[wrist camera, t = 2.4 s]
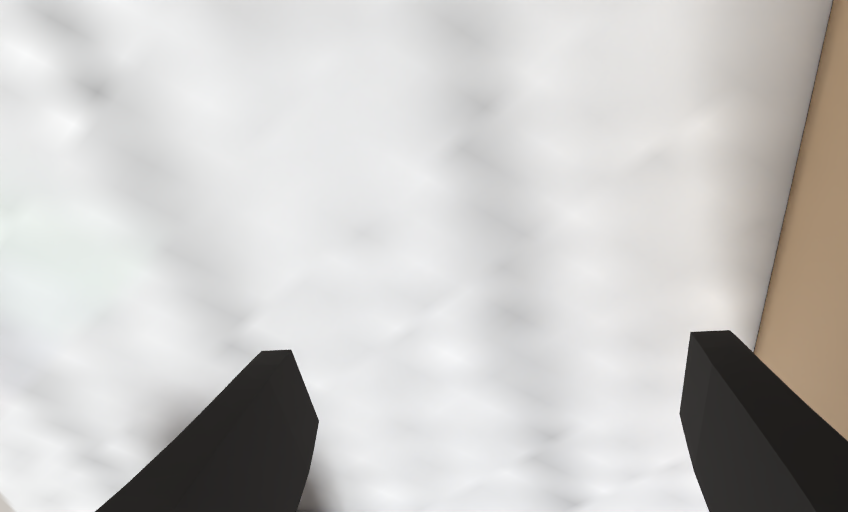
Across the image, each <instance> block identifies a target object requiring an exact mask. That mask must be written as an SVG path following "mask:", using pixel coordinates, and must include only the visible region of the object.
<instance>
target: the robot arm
mask: <svg viewBox="0 0 848 512" xmlns="http://www.w3.org/2000/svg"><path fill="white" fill-rule="evenodd" d="M680 418H681V422H682V426H683V430H684V434H685V438H686V442H687V446H688V450H689V454H690V458H691V461H692V465H693V469H694V472H695V475H696V478H697V480H698V483H699V486H700V488H701V491H702V494H703V496H704V499H705V501H706V504H707V507H708V509H709V512H848V441H847V440H846V439H845V438H844V437H843V436H842V435H841V434H839V433H838V432H837V431H836V430H835V429H834V428H833V427H832V426H831V425H829V424H828V423H827V422H826V421H825V420H824V419H823V418H822V417H820V416H819V415H818V414H817V413H816V412H815V411H814V410H813V409H812V408H810V407H809V406H808V405H807V404H806V403H805V402H804V401H803V400H802V399H801V398H800V397H799V396H798V395H797V394H795V393H794V392H793V391H792V390H791V389H790V388H789V387H788V386H787V385H786V384H785V383H784V382H783V381H782V380H781V379H780V378H779V377H778V376H777V375H776V374H775V373H773V372H772V371H771V370H770V369H769V368H768V367H767V366H766V365H765V364H764V363H763V362H762V361H761V360H760V359H759V358H758V357H757V356H756V355H755V354H754V353H753V352H752V351H751V350H750V349H749V348H748V347H747V346H746V345H745V344H744V343H743V342H742V341H741V340H740V339H739V338H738V337H737V336H736V335H734V334H733V333H732V332H731V331H730V330H725V331H703V332H691V333H690V341H689V348H688V355H687V363H686V370H685V377H684V385H683V392H682V400H681V407H680ZM318 423H319V420H318V417H317V415H316V412H315V410H314V407H313V405H312V402H311V399H310V397H309V394H308V392H307V389H306V387H305V384H304V381H303V379H302V376H301V374H300V371H299V369H298V366H297V363H296V361H295V358H294V356H293V353H292V350H274V351H261V352H260V353H259V354H258V355H257V356H256V357H255V358H254V359H253V360H252V361H251V362H250V363H249V364H248V365H247V366H246V367H245V368H244V369H243V370H242V371H241V372H240V373H239V374H238V375H237V376H236V377H235V378H234V379H233V380H232V381H231V383H230V384H229V385H228V386H227V387H226V388H225V389H224V390H223V391H222V392H221V393H220V394H219V395H218V396H217V397H216V398H215V399H214V400H213V401H212V402H211V403H210V404H209V405H208V406H207V407H206V408H205V409H204V410H203V411H202V412H201V413H200V414H199V415H198V416H197V417H196V418H195V419H194V420H193V421H192V422H191V423H190V424H189V425H188V426H187V427H186V428H185V429H184V430H183V431H182V432H181V433H180V434H179V435H178V436H177V437H176V438H175V439H174V440H173V441H172V442H171V443H170V444H169V445H168V446H167V447H166V448H165V449H164V450H163V451H162V452H161V453H159V454H158V455H157V456H156V457H155V458H154V459H153V460H152V461H151V462H150V463H149V464H148V465H147V466H146V467H145V468H143V469H142V470H141V471H140V472H139V473H138V474H137V475H136V476H135V477H134V478H133V479H132V480H131V481H130V482H129V483H127V484H126V485H125V486H124V487H123V488H122V489H121V490H120V491H118V492H117V493H116V494H115V495H114V496H113V497H112V498H110V499H109V500H108V501H107V502H106V503H105V504H103V505H102V506H101V507H100V508H99V509H97V510H96V511H95V512H296V511H297V508H298V505H299V501H300V498H301V495H302V492H303V489H304V486H305V483H306V480H307V477H308V473H309V469H310V465H311V460H312V455H313V451H314V445H315V440H316V434H317V429H318Z"/></svg>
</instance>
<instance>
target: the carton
mask: <svg viewBox="0 0 848 512" xmlns="http://www.w3.org/2000/svg"><path fill="white" fill-rule="evenodd" d="M754 354H755V355H756V356H757V357H758V358H759V359H760V360H761V361H762V362H763V363H764V364H765V365H766V366H767V367H768V368H769V369H770V370H771V371H772V372H773V373H775V374H776V375H777V376H778V377H779V378H780V379H781V380H782V381H783V382H784V383H785V384H786V385H787V386H788V387H789V388H790V389H791V390H792V391H793V392H794V393H795V394H797V395H798V396H799V397H800V398H801V399H802V400H803V401H804V402H805V403H806V404H807V405H808V406H809V407H810V408H812V409H813V410H814V411H815V412H816V413H817V414H818V415H819V416H820V417H822V418H823V419H824V420H825V421H826V422H827V423H828V424H829V425H831V426H832V427H833V428H834V429H835V430H836V431H837V432H838V433H839V434H841V435H842V436H843V437H844V438H845V439H846V440H847V439H848V0H833V4H832V9H831V13H830V18H829V22H828V27H827V31H826V35H825V40H824V44H823V49H822V53H821V58H820V62H819V67H818V71H817V75H816V80H815V84H814V89H813V93H812V98H811V102H810V106H809V111H808V115H807V120H806V124H805V129H804V133H803V137H802V142H801V146H800V151H799V155H798V160H797V164H796V169H795V173H794V177H793V182H792V186H791V191H790V195H789V200H788V204H787V208H786V213H785V217H784V222H783V226H782V231H781V235H780V239H779V244H778V248H777V253H776V257H775V262H774V266H773V271H772V275H771V279H770V284H769V288H768V293H767V297H766V302H765V306H764V310H763V315H762V319H761V324H760V328H759V333H758V337H757V341H756V346H755V350H754Z"/></svg>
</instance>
